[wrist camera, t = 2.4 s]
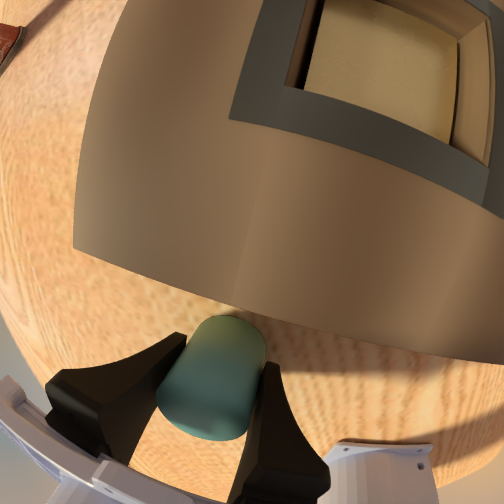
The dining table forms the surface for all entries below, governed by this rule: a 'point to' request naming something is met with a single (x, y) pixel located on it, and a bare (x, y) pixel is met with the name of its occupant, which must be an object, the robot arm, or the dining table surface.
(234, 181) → the block
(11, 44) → the lighter
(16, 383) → the robot arm
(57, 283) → the dining table surface
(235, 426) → the peg
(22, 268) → the dining table surface
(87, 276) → the dining table surface
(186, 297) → the dining table surface
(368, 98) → the beige square pad
